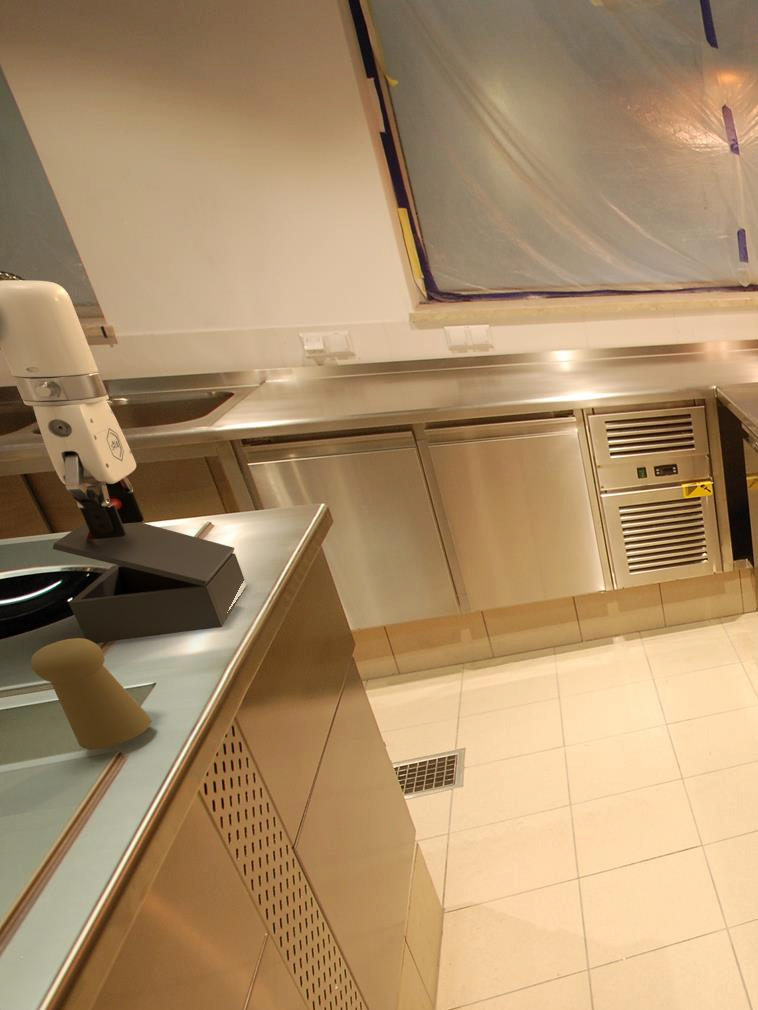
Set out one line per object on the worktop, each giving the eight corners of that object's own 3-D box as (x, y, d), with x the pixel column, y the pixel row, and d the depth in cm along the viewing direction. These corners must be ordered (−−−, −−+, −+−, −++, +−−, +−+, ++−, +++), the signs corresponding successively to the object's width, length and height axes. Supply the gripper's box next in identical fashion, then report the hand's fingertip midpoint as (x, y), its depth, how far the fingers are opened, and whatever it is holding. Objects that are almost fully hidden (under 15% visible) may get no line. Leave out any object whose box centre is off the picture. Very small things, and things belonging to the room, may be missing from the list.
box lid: (52, 549, 103) (62, 513, 102) (98, 516, 115) (108, 484, 114) (204, 586, 111) (214, 553, 110) (233, 552, 123) (242, 522, 122)
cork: (66, 753, 88) (2, 666, 82) (98, 720, 92) (40, 635, 87) (134, 743, 89) (77, 656, 83) (162, 710, 94) (110, 626, 88)
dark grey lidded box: (91, 651, 108) (68, 602, 105) (132, 610, 120) (112, 565, 117) (224, 634, 114) (206, 587, 111) (250, 596, 126) (235, 552, 123)
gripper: (75, 398, 98) (134, 545, 105) (127, 379, 111) (176, 510, 119) (-14, 401, 94) (54, 553, 102) (51, 381, 108) (106, 515, 116)
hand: (119, 528), depth 110 cm, fingers closed on box lid, 6 cm apart
